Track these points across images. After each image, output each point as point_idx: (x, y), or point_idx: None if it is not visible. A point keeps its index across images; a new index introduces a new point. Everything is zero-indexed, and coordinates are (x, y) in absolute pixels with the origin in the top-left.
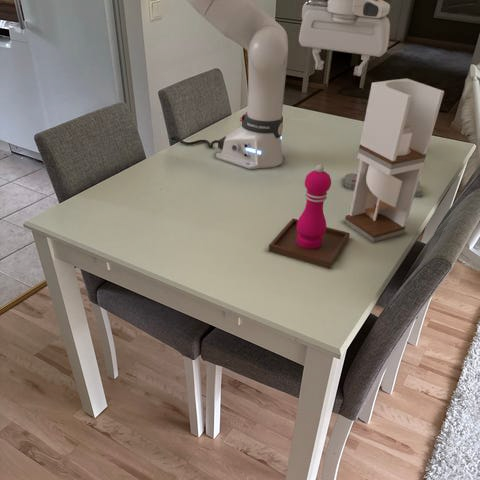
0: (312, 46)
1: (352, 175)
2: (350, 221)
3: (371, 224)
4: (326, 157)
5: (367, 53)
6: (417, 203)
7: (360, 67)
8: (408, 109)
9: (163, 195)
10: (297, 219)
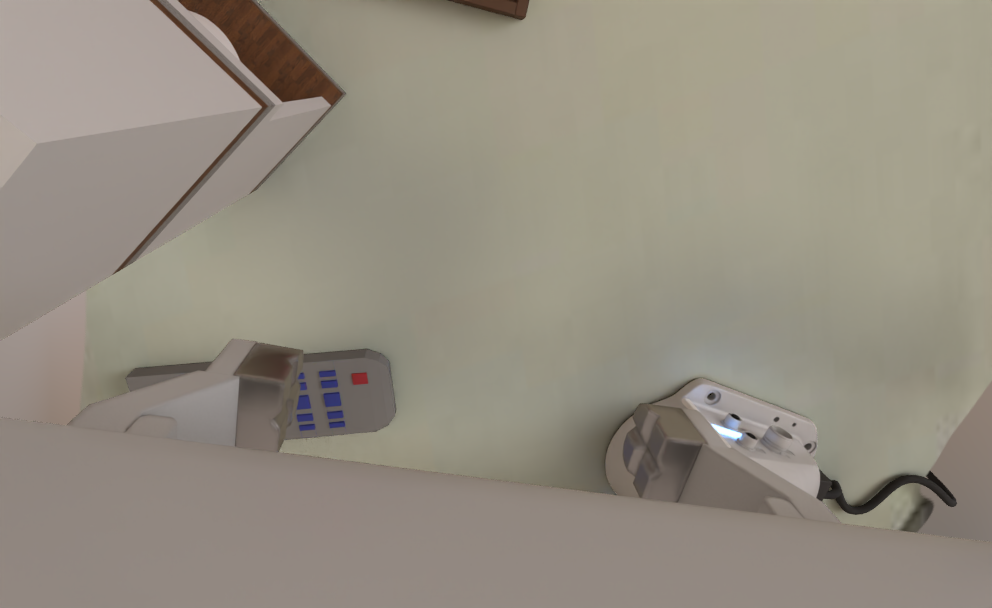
0: (889, 533)
1: (371, 416)
2: (321, 71)
3: (239, 50)
4: None
5: (11, 426)
6: (134, 319)
7: (207, 371)
8: None
9: (969, 100)
10: (507, 11)
